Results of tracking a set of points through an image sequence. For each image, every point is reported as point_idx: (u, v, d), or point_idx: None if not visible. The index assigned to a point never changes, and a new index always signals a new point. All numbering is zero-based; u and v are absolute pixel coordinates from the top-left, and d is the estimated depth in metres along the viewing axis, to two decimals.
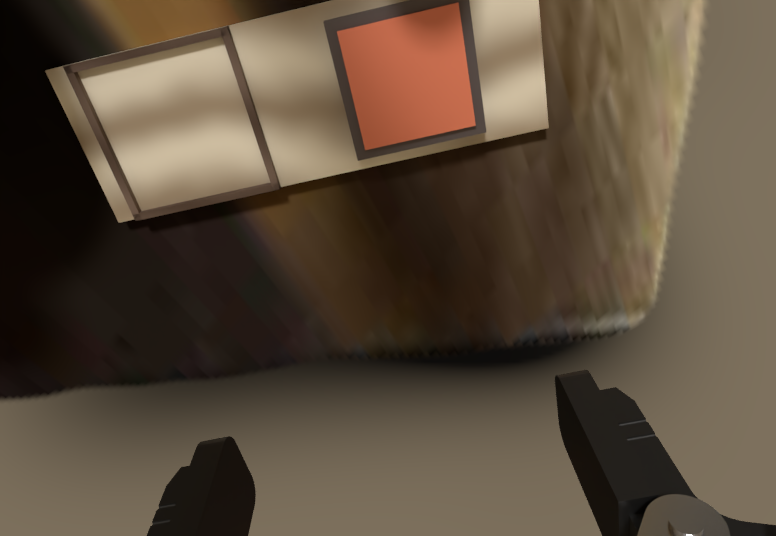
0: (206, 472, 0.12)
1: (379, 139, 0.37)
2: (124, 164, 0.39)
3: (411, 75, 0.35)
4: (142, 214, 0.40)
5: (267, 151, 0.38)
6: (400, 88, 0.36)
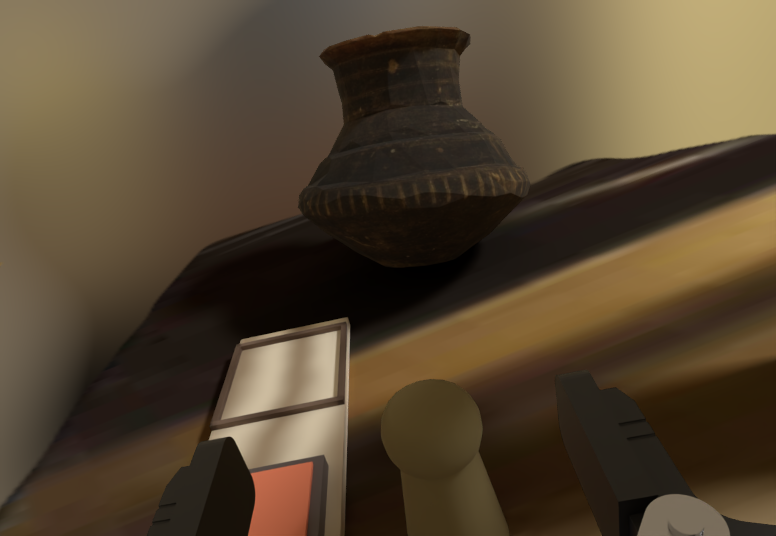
0: (206, 472, 0.12)
1: None
2: (277, 345, 0.53)
3: (251, 523, 0.34)
4: (238, 348, 0.53)
5: (243, 420, 0.44)
6: None
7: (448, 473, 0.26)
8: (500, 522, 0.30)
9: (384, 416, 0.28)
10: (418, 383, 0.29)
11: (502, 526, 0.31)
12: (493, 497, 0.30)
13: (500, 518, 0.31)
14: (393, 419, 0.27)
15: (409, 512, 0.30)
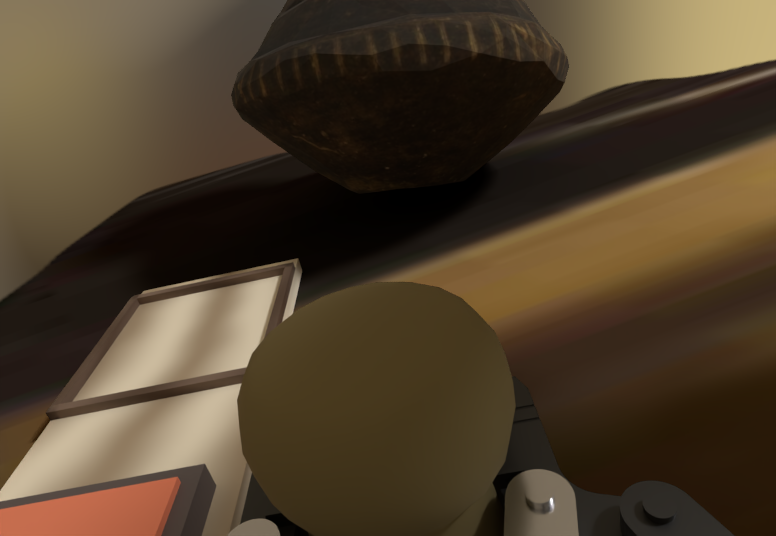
0: None
1: None
2: (190, 296, 0.35)
3: None
4: (133, 300, 0.36)
5: (101, 403, 0.26)
6: None
7: (416, 532, 0.09)
8: None
9: (247, 366, 0.10)
10: (348, 289, 0.11)
11: None
12: None
13: None
14: (263, 372, 0.09)
15: None
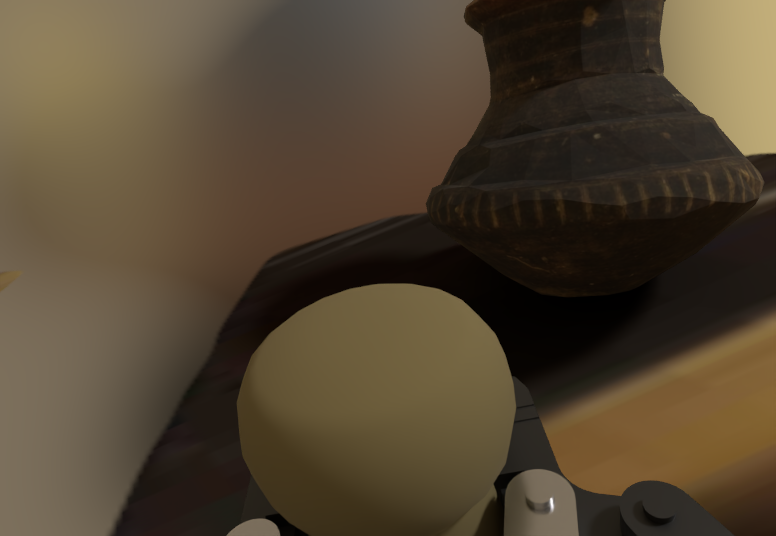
0: None
1: None
2: None
3: None
4: None
5: None
6: None
7: (416, 535, 0.09)
8: None
9: (247, 368, 0.10)
10: (348, 290, 0.11)
11: None
12: None
13: None
14: (263, 374, 0.09)
15: None
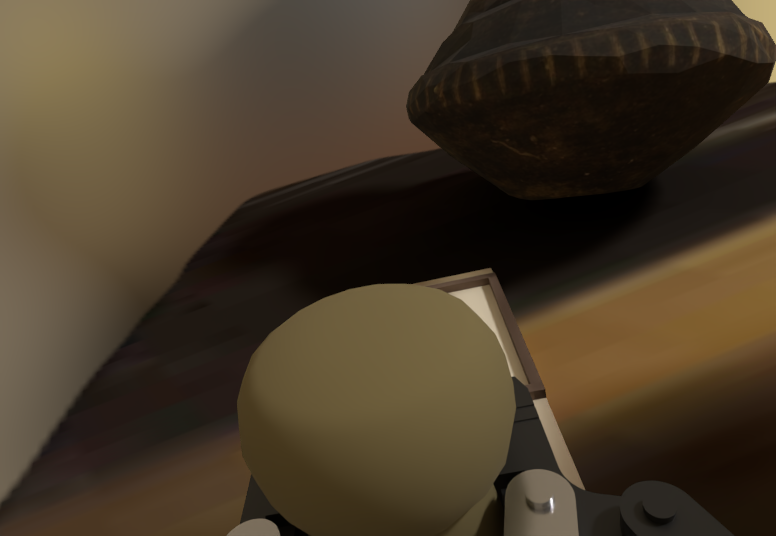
0: None
1: None
2: None
3: None
4: None
5: None
6: None
7: (416, 534, 0.09)
8: None
9: (247, 368, 0.10)
10: (349, 291, 0.11)
11: None
12: None
13: None
14: (263, 374, 0.09)
15: None
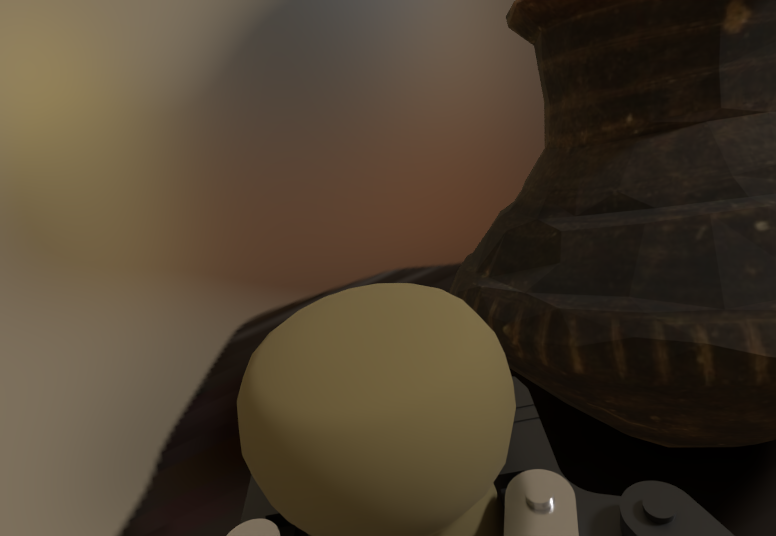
0: None
1: None
2: None
3: None
4: None
5: None
6: None
7: (416, 534, 0.09)
8: None
9: (247, 367, 0.10)
10: (348, 290, 0.11)
11: None
12: None
13: None
14: (263, 373, 0.09)
15: None
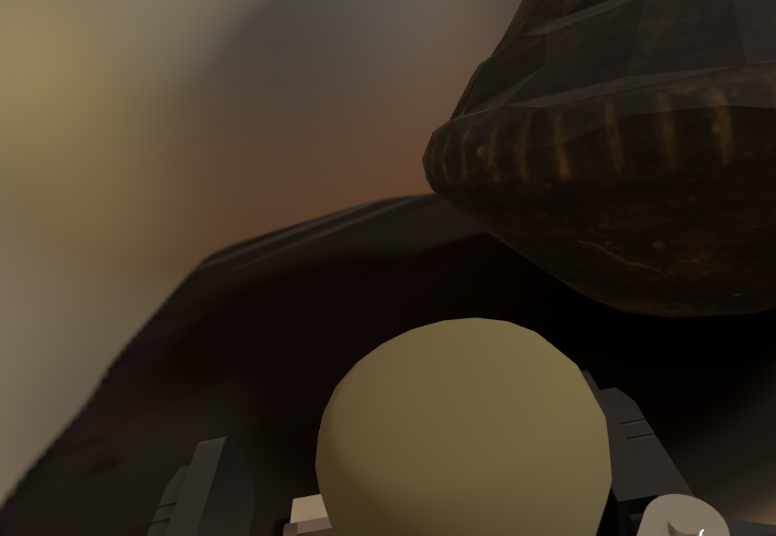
0: (206, 472, 0.12)
1: None
2: None
3: None
4: None
5: None
6: None
7: None
8: None
9: (322, 428, 0.10)
10: (412, 331, 0.11)
11: None
12: None
13: None
14: (345, 437, 0.09)
15: None
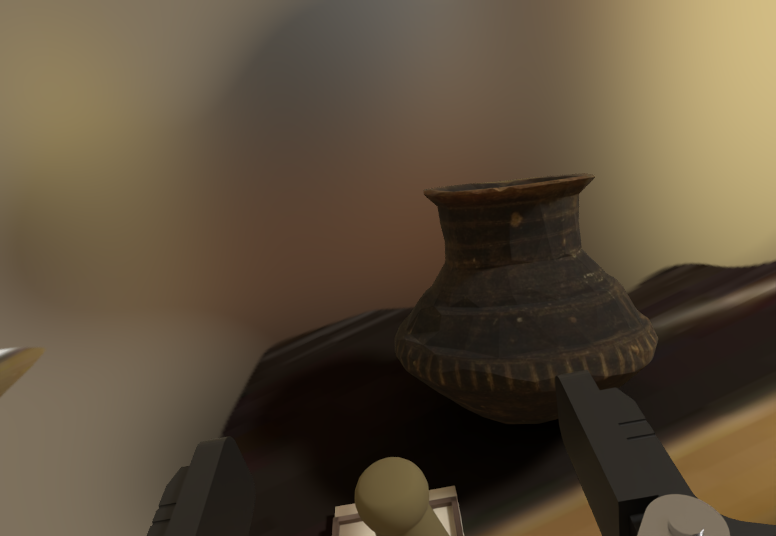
0: (206, 472, 0.12)
1: None
2: None
3: None
4: (336, 524, 0.48)
5: None
6: None
7: (404, 530, 0.36)
8: None
9: (356, 490, 0.38)
10: (380, 461, 0.39)
11: None
12: None
13: None
14: (362, 493, 0.37)
15: None
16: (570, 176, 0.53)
